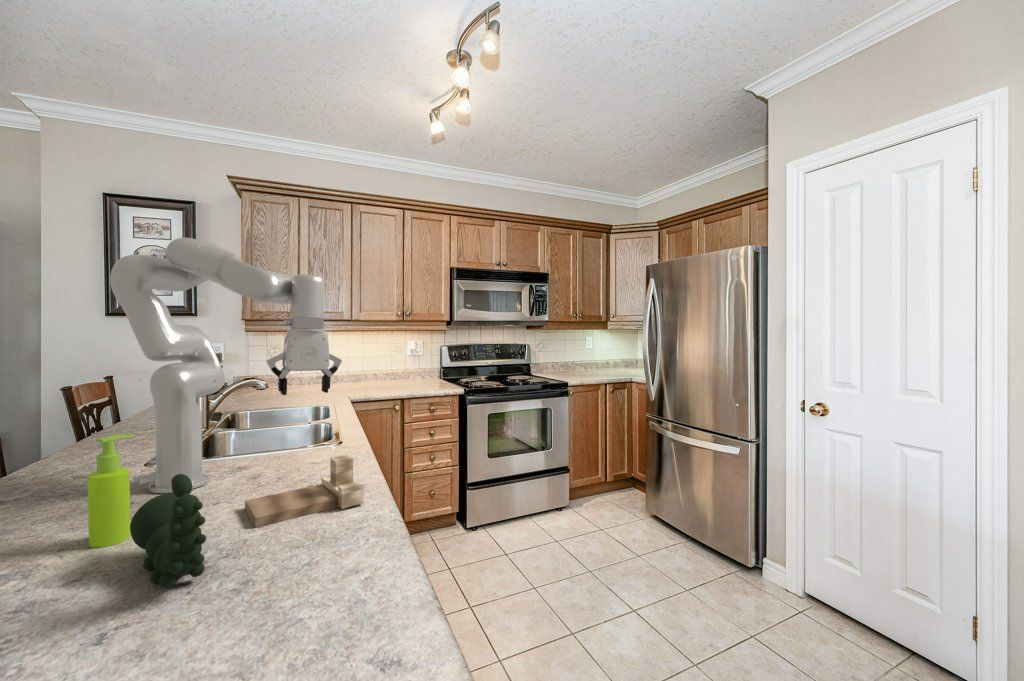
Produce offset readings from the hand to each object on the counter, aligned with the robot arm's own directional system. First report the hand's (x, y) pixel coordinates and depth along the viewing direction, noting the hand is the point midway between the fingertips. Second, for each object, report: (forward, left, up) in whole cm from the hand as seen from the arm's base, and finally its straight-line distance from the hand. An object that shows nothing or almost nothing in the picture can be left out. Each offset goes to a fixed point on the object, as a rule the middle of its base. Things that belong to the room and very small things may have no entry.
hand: (304, 393), depth 111 cm
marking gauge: (+5, -11, -24) cm, 27 cm away
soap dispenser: (-36, -4, -25) cm, 44 cm away
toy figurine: (-28, -24, -25) cm, 44 cm away
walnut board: (-3, -10, -25) cm, 27 cm away
